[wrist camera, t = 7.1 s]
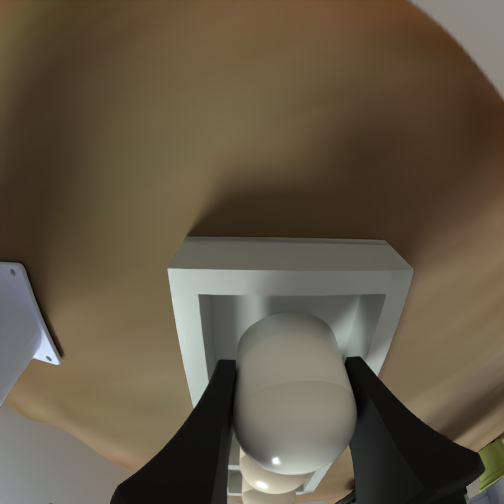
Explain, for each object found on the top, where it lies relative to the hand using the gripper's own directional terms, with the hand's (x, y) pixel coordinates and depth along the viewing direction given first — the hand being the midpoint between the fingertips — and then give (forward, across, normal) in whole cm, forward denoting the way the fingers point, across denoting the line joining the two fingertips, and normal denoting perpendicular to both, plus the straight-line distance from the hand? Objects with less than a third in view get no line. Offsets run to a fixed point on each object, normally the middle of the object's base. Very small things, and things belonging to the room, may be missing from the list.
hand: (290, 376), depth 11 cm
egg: (+1, 0, 0) cm, 1 cm away
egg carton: (+4, 0, +8) cm, 9 cm away
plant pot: (+4, -43, +36) cm, 56 cm away
